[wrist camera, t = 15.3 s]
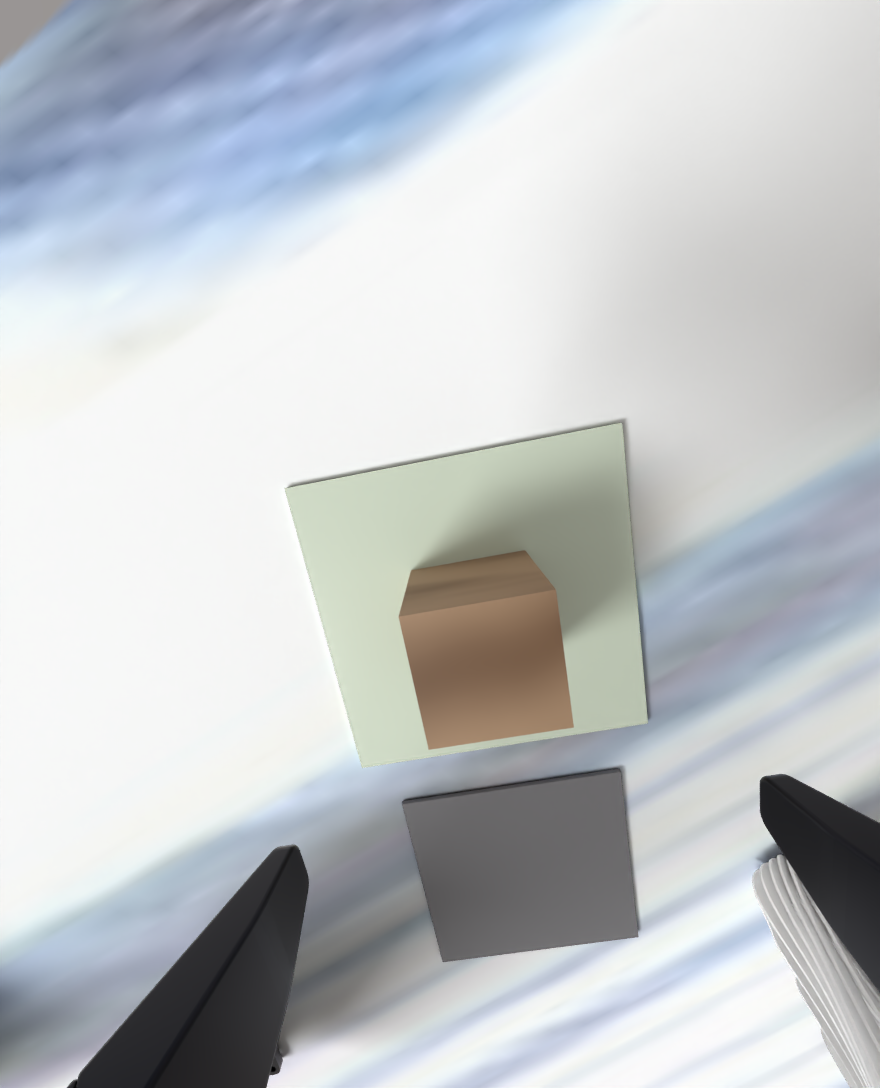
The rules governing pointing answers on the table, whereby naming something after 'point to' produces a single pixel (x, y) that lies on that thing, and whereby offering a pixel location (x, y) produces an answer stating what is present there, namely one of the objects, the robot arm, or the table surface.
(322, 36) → the table surface
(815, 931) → the shell sculpture
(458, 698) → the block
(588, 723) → the mat
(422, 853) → the mat
